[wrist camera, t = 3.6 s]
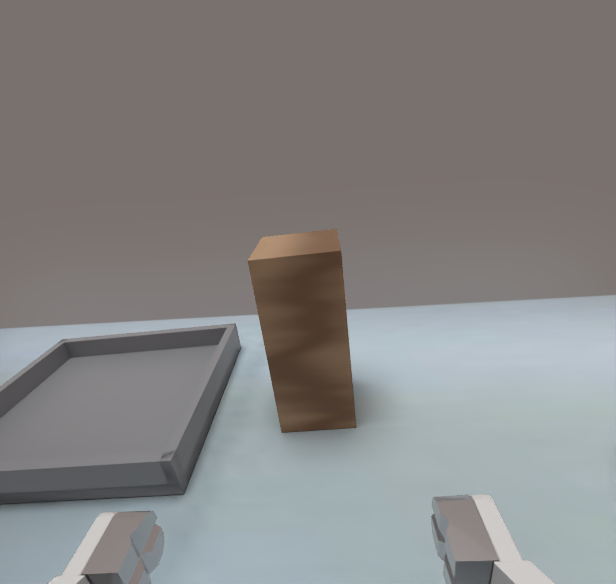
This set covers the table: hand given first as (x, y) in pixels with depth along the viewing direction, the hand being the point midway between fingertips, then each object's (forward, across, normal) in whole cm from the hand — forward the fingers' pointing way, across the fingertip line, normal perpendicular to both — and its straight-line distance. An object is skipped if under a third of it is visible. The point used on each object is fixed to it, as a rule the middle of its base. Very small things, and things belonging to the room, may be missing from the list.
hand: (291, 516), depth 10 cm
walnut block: (+11, 0, +6) cm, 13 cm away
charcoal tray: (+12, +15, +6) cm, 20 cm away
